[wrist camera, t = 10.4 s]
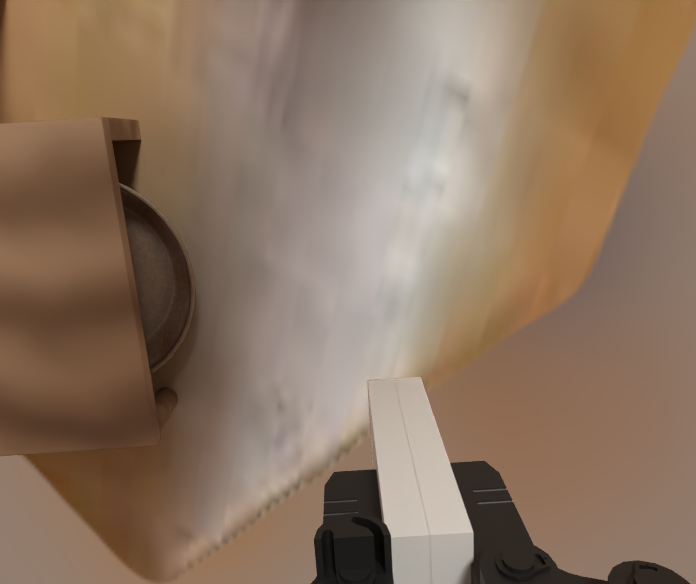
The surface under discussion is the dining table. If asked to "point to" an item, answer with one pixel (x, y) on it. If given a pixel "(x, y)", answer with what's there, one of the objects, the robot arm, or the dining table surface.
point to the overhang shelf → (70, 295)
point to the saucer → (158, 277)
